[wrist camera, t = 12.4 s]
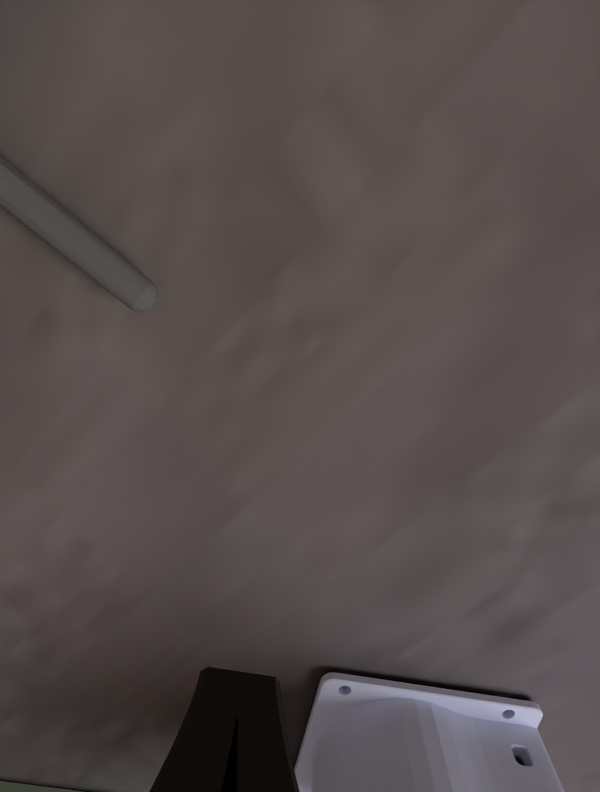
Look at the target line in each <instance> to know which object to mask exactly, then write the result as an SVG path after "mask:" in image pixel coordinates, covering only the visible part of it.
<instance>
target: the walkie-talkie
mask: <svg viewBox="0 0 600 792" xmlns="http://www.w3.org/2000/svg"><path fill="white" fill-rule="evenodd" d="M0 206H2V207H3V208H4V209H5V210H7V211H8V212H9V213H10V214H12V215H13V216H14V217H15V218H17V219H18V220H19V221H20V222H22V223H23V224H24V225H25V226H27V227H28V228H29V229H30V230H32V231H33V232H34V233H35V234H37V235H38V236H39V237H40V238H42V239H43V240H44V241H46V242H47V243H48V244H49V245H51V246H52V247H53V248H54V249H56V250H57V251H58V252H59V253H61V254H62V255H63V256H64V257H66V258H67V259H68V260H69V261H71V262H72V263H73V264H74V265H76V266H77V267H78V268H79V269H81V270H82V271H83V272H84V273H86V274H87V275H88V276H89V277H91V278H92V279H93V280H94V281H96V282H97V283H98V284H99V285H101V286H102V287H103V288H104V289H106V290H107V291H108V292H110V293H111V294H112V295H113V296H115V297H116V298H117V299H118V300H120V301H121V302H122V303H123V304H125V305H126V306H127V307H128V308H130V309H131V310H133V311H136V312H143V311H147V310H149V309H151V308H152V307H153V306H154V305H155V303H156V301H157V299H158V289H157V287H156V286H155V284H154V282H152V281H151V280H150V279H149V278H148V277H146V276H145V275H144V274H143V273H142V272H140V271H139V270H138V269H137V268H136V267H134V266H133V265H132V264H131V263H129V262H128V261H127V260H126V259H125V258H123V257H122V256H121V255H120V254H119V253H117V252H116V251H115V250H114V249H113V248H111V247H110V246H109V245H108V244H106V243H105V242H104V241H103V240H102V239H100V238H99V237H98V236H97V235H96V234H94V233H93V232H92V231H91V230H90V229H88V228H87V227H86V226H85V225H83V224H82V223H81V222H80V221H79V220H77V219H76V218H75V217H74V216H73V215H71V214H70V213H69V212H68V211H67V210H65V209H64V208H63V207H62V206H60V205H59V204H58V203H57V202H56V201H54V200H53V199H52V198H51V197H50V196H48V195H47V194H46V193H45V192H44V191H42V190H41V189H40V188H39V187H37V186H36V185H35V184H34V183H33V182H31V181H30V180H29V179H28V178H27V177H25V176H24V175H23V174H22V173H21V172H19V171H18V170H17V169H16V168H14V167H13V166H12V165H11V164H10V163H8V162H7V161H6V160H5V159H4V158H2V157H1V156H0Z"/></svg>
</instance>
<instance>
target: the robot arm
mask: <svg viewBox="0 0 600 792" xmlns="http://www.w3.org/2000/svg"><path fill="white" fill-rule="evenodd" d="M342 686H344V687H342ZM542 716H543V714H542V711H541V709H540V707H539V705H538V704H537V703H535V702H532V701H525V700H519V699H512V698H505V697H498V696H491V695H485V694H478V693H471V692H464V691H458V690H451V689H444V688H437V687H430V686H424V685H417V684H410V683H403V682H396V681H390V680H383V679H376V678H369V677H363V676H356V675H349V674H342V673H335V672H330V673H327V674H325V675H324V676H322V678H321V680H320V683H319V687H318V690H317V693H316V697H315V700H314V704H313V707H312V710H311V714H310V717H309V721H308V724H307V728H306V731H305V734H304V738H303V741H302V745H301V748H300V751H299V755H298V758H297V762H296V765H295V768H294V766H293V762H292V757H291V753H290V748H289V743H288V738H287V733H286V727H285V722H284V715H283V709H282V701H281V693H280V682H279V681H278V680H277V679H276V677H273V676H266V675H259V674H252V673H245V672H238V671H231V670H225V669H218V668H211V667H207V668H205V669H203V670H202V671H201V672H200V676H199V680H198V683H197V687H196V690H195V693H194V695H193V698H192V701H191V704H190V706H189V709H188V711H187V714H186V716H185V719H184V721H183V723H182V726H181V728H180V730H179V732H178V735H177V737H176V739H175V741H174V744H173V746H172V748H171V750H170V752H169V754H168V756H167V758H166V760H165V762H164V764H163V766H162V768H161V770H160V772H159V774H158V776H157V778H156V780H155V782H154V784H153V786H152V788H151V790H150V792H564V790H563V788H562V785H561V783H560V781H559V778H558V776H557V774H556V771H555V769H554V767H553V765H552V762H551V760H550V758H549V755H548V753H547V751H546V748H545V746H544V744H543V742H542V739H541V737H540V735H539V732H538V730H537V727H538V725H539V723H540V721H541V719H542Z"/></svg>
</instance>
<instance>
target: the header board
mask: <svg viewBox="0 0 600 792" xmlns="http://www.w3.org/2000/svg"><path fill="white" fill-rule="evenodd" d="M0 792H84V791H76V790H68V789H60V788H52V787H44V786H36V785H28V784H20V783H12V782H5V781H0Z"/></svg>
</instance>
